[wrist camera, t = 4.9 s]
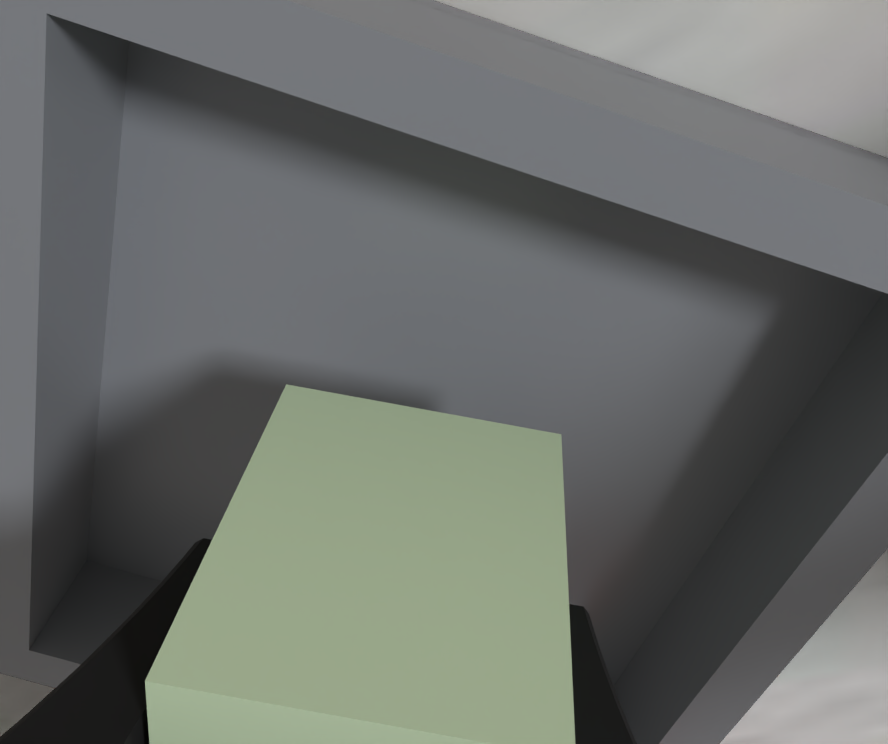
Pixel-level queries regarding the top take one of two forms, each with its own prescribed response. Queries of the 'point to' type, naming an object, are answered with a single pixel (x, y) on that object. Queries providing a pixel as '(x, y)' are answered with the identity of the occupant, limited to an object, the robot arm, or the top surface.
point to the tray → (434, 314)
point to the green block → (377, 588)
